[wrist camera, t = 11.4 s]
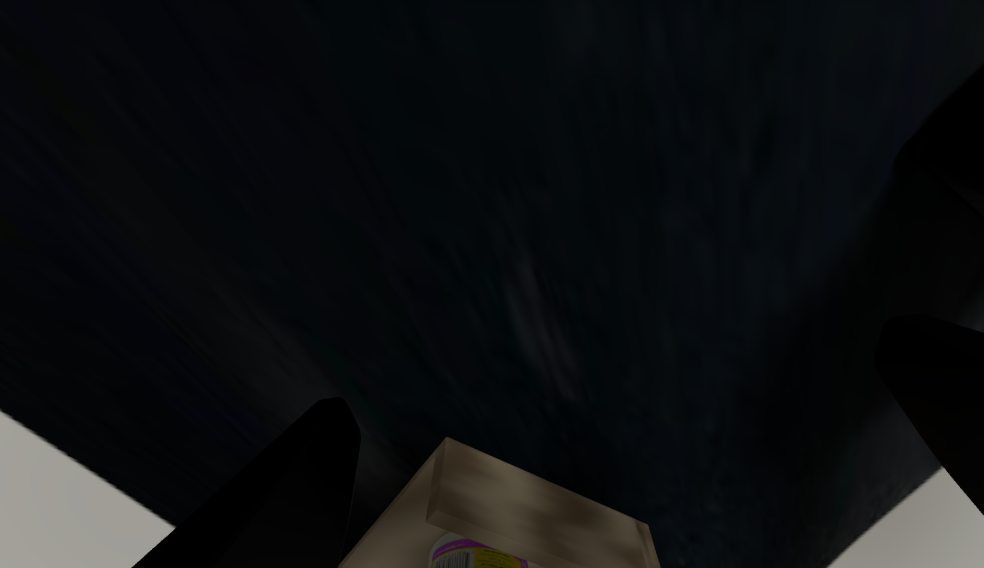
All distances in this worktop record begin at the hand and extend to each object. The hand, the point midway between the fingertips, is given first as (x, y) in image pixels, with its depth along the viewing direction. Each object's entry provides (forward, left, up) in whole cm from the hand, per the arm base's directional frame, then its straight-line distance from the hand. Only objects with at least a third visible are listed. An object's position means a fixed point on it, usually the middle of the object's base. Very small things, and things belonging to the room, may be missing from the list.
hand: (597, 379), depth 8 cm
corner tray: (-11, +23, -12) cm, 29 cm away
